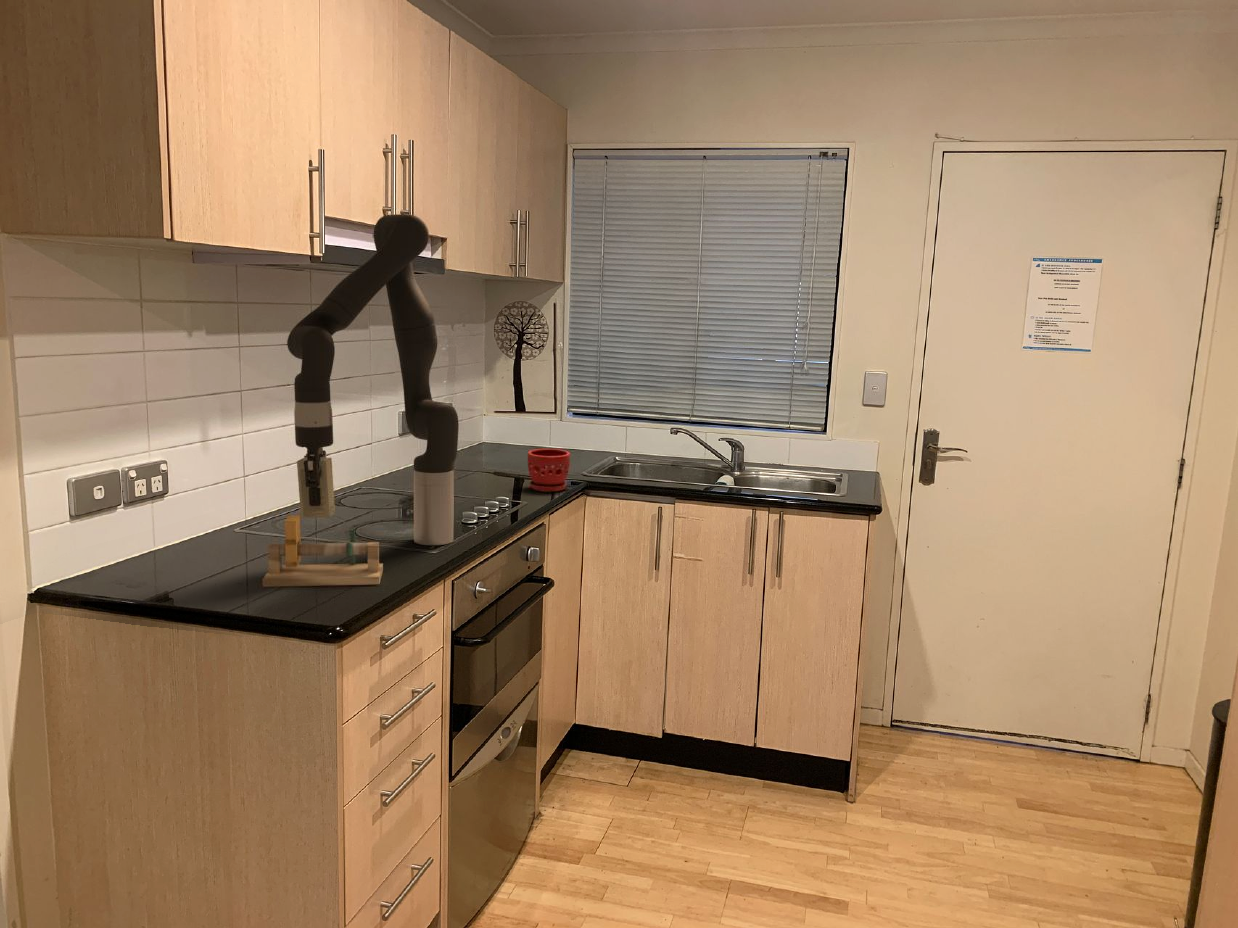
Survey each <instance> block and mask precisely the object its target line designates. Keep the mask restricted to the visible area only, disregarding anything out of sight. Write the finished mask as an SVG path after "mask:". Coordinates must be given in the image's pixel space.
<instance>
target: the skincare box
mask: <svg viewBox="0 0 1238 928" xmlns="http://www.w3.org/2000/svg"><path fill="white" fill-rule="evenodd" d="M332 459H333V458H332V457H326V458H324V461H319V469H318V473H319V472H320V466H322V472H323V476H322V477H321V478H320V484H321V487H320V496H321V504H320V506H310V505H309V489H308V487H306V485H305V484H306V480H305V469H304V457H302V458H301V459H299V460H297V461H296V468H297V481H298V482H297V483H298V493H299V494H298V495H299V496H298V497H299V509H300V518H331V517H332V516H333V515H334V514H335V513H336V507H335V491H334V476H333V475H334V473H333V462H332ZM311 481H316V480H315V477H311Z"/></svg>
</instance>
